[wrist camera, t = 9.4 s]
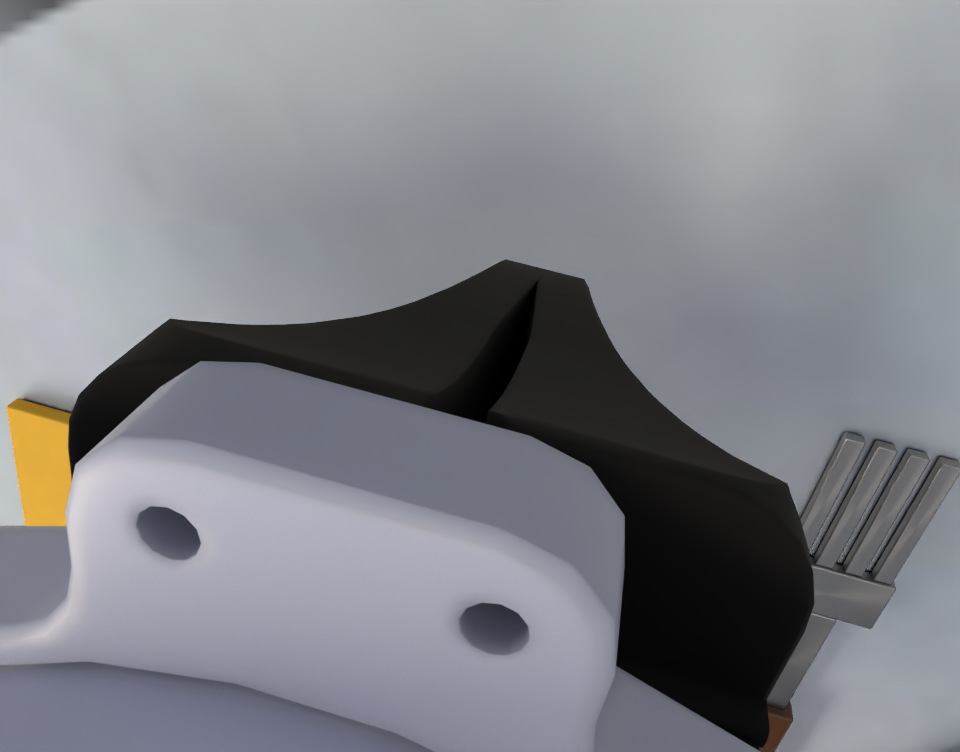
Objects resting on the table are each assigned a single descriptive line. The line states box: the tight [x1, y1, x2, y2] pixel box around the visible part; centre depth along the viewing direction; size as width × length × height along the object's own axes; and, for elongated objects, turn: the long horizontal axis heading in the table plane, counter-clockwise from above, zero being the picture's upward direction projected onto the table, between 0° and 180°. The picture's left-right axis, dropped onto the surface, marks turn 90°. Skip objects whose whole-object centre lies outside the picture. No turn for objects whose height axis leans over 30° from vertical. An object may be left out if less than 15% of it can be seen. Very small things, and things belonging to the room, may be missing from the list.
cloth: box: [7, 399, 72, 526], centre depth 21 cm, size 10×6×1 cm, turn 170°
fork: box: [759, 432, 960, 752], centre depth 19 cm, size 16×2×1 cm, turn 170°
